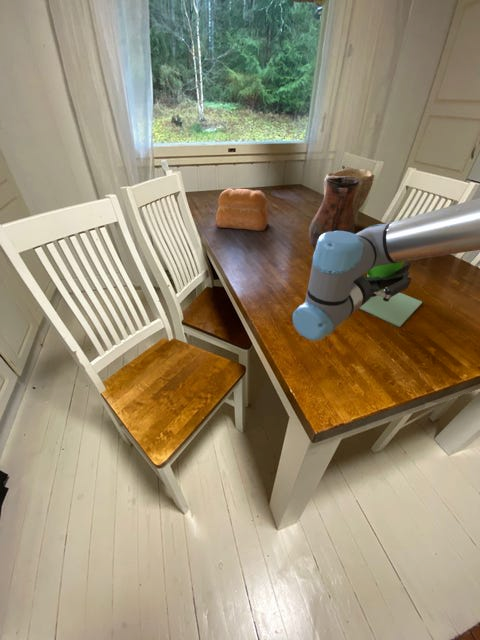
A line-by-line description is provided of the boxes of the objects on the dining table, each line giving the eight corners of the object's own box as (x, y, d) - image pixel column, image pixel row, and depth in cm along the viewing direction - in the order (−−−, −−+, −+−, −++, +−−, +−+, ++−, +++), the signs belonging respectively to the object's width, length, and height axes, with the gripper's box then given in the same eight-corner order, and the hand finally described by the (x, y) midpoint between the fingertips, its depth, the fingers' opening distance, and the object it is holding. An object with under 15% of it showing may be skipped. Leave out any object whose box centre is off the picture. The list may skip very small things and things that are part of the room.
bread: (221, 218, 151) (220, 184, 140) (268, 221, 147) (271, 187, 136) (213, 228, 139) (212, 192, 128) (264, 232, 135) (267, 195, 124)
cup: (357, 293, 71) (370, 254, 64) (359, 277, 77) (371, 240, 70) (394, 301, 68) (412, 261, 61) (393, 283, 75) (409, 245, 68)
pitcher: (344, 252, 118) (364, 175, 99) (347, 276, 101) (373, 190, 83) (305, 248, 120) (318, 173, 102) (302, 271, 104) (317, 186, 85)
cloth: (422, 303, 88) (422, 301, 88) (399, 327, 79) (400, 326, 78) (364, 279, 100) (364, 278, 99) (338, 298, 90) (338, 297, 90)
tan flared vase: (323, 214, 158) (332, 165, 142) (363, 220, 150) (378, 169, 134) (311, 226, 142) (321, 172, 127) (356, 234, 134) (372, 178, 118)
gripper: (305, 290, 67) (350, 262, 80) (388, 330, 56) (426, 289, 68) (310, 263, 63) (357, 237, 75) (402, 300, 51) (440, 262, 64)
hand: (390, 262), depth 72 cm, fingers closed on cup, 8 cm apart
